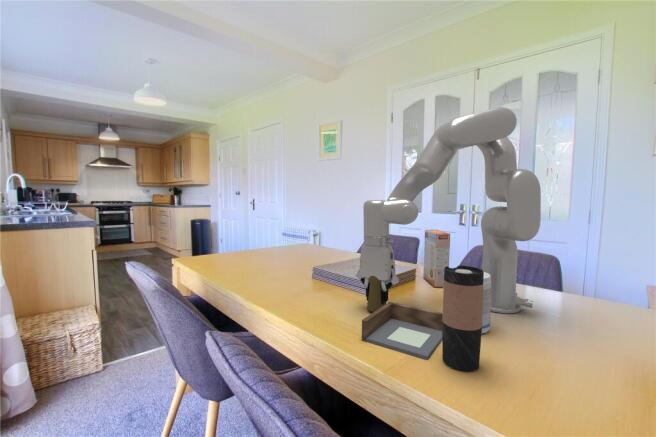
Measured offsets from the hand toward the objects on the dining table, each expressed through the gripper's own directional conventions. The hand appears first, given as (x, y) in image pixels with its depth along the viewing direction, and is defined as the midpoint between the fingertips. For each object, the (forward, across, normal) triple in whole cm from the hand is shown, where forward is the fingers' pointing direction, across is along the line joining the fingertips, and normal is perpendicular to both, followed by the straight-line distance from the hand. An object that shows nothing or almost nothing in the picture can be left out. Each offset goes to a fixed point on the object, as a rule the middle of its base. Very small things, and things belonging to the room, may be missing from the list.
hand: (376, 300), depth 95 cm
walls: (+3, -13, +12) cm, 18 cm away
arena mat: (+3, -13, +12) cm, 18 cm away
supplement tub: (+4, -25, -4) cm, 26 cm away
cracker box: (+4, -5, -42) cm, 42 cm away
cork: (+3, 0, 0) cm, 3 cm away
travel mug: (+4, -27, +16) cm, 32 cm away
